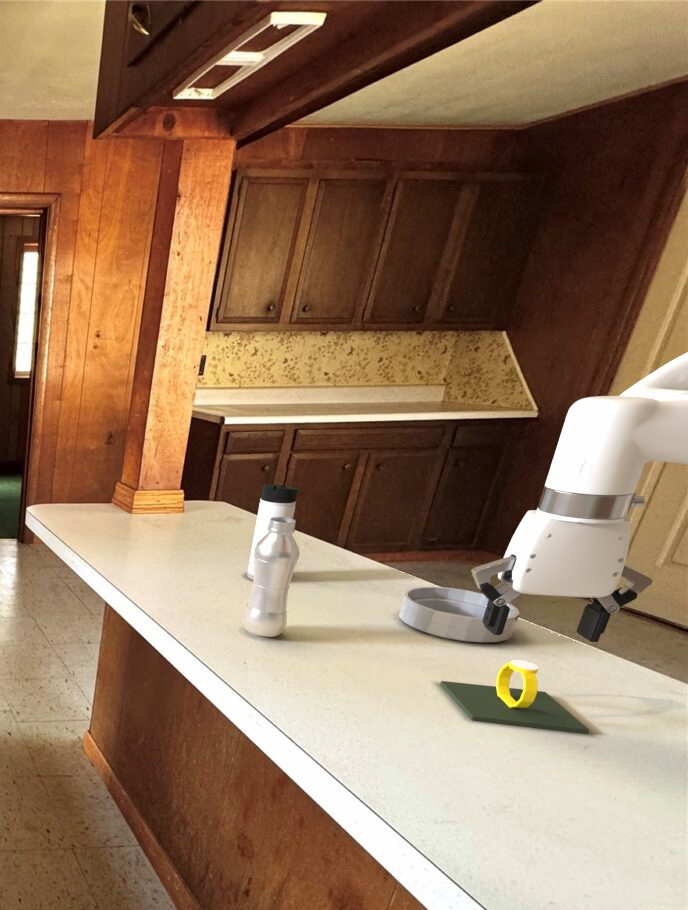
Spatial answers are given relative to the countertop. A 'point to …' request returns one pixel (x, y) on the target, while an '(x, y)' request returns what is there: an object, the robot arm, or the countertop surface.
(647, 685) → the countertop surface
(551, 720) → the mat
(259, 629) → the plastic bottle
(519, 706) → the watch
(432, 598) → the basin
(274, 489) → the travel mug
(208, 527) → the countertop surface
